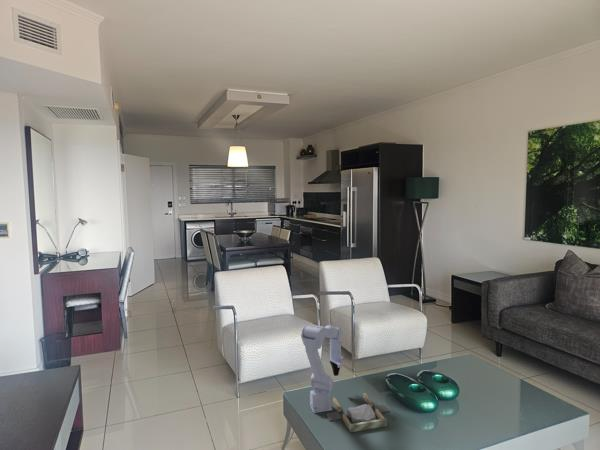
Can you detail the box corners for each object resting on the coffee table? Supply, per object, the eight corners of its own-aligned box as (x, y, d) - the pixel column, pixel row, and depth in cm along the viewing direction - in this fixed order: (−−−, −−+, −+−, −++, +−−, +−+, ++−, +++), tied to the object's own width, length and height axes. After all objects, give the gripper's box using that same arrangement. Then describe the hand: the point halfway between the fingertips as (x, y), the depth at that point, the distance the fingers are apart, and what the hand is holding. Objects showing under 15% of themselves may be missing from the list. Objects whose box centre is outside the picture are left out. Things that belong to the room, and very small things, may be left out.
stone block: (377, 424, 181) (368, 409, 190) (378, 416, 179) (369, 401, 188) (353, 430, 178) (345, 414, 187) (353, 421, 176) (346, 405, 186)
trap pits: (329, 421, 181) (329, 420, 181) (325, 414, 187) (325, 413, 187) (389, 411, 187) (389, 410, 187) (384, 405, 193) (384, 404, 193)
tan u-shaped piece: (350, 432, 172) (350, 425, 172) (332, 402, 197) (332, 396, 197) (386, 426, 176) (386, 419, 176) (365, 397, 201) (365, 391, 200)
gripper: (347, 354, 198) (347, 380, 200) (338, 343, 213) (338, 368, 214) (334, 356, 197) (334, 382, 198) (325, 345, 211) (326, 369, 212)
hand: (336, 375), depth 206 cm, fingers closed
